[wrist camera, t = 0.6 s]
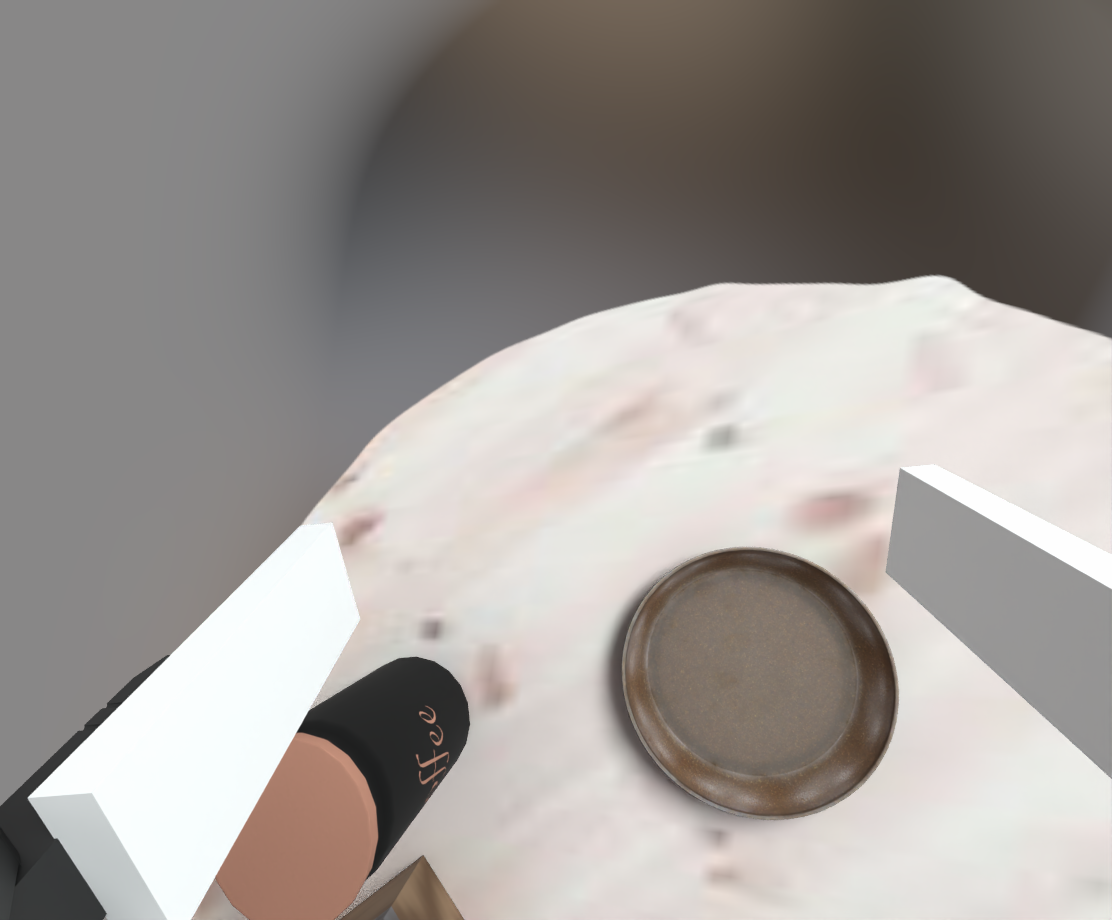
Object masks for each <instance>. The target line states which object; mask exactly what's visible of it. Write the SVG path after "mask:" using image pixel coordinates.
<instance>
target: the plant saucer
mask: <svg viewBox="0 0 1112 920" xmlns="http://www.w3.org/2000/svg"><path fill="white" fill-rule="evenodd" d="M622 684H623V692H624V697H625V702H626V706H627V710H628V713H629V716H630V719H631V721H632V724H633V726H634V728H635V730H636V732H637V734H638V736H639V738H640V740H641V742H642V744H643V745H644V747H645V749H646V750H647V752H648V753H649V754H650V756H651V757H652V758H653V760H654V761H655V762H656V764H657V765H658V766H659V767H660V768H661V769H662V770H663V772H664V773H665V774H666V775H668V776H669V777H670V778H671V779H672V780H673V781H674V782H675V783H676V784H677V785H679V786H680V787H681V788H682V789H684V790H685V791H687V792H688V793H689V794H691V795H693V796H694V797H696V798H697V799H699V800H701V801H702V802H704V803H706V804H709V805H711V806H713V807H715V808H717V809H720V810H722V811H725V812H728V813H731V814H734V815H738V816H742V817H747V818H753V819H763V820H784V819H792V818H798V817H804V816H808V815H811V814H815V813H818V812H820V811H823V810H825V809H827V808H829V807H832V806H834V805H835V804H837V803H839V802H840V801H842V800H844V799H845V798H847V797H849V796H850V795H851V794H852V793H854V792H855V791H856V790H857V789H859V788H860V787H861V786H862V785H863V784H864V783H865V782H866V781H867V780H868V778H869V777H870V776H871V775H872V774H873V772H874V771H875V770H876V768H877V767H878V765H879V764H880V762H881V760H882V758H883V757H884V755H885V753H886V751H887V749H888V747H889V744H890V742H891V739H892V736H893V733H894V729H895V725H896V721H897V714H898V705H899V687H898V677H897V672H896V667H895V663H894V658H893V655H892V652H891V649H890V647H889V644H888V642H887V639H886V637H885V635H884V633H883V631H882V629H881V627H880V626H879V624H878V622H877V620H876V619H875V617H874V616H873V614H872V613H871V612H870V610H869V609H868V608H867V606H866V605H865V604H864V603H863V601H862V600H861V599H860V598H859V597H858V596H857V595H856V594H855V593H854V592H853V591H852V590H851V589H850V588H849V587H848V586H847V585H846V584H844V583H843V582H842V581H841V580H840V579H839V578H837V577H836V576H834V575H833V574H831V573H830V572H828V571H827V570H826V569H824V568H822V567H820V566H819V565H817V564H815V563H813V562H811V561H809V560H807V559H804V558H802V557H799V556H797V555H794V554H790V553H787V552H783V551H779V550H774V549H768V548H761V547H733V548H726V549H720V550H716V551H712V552H708V553H705V554H702V555H700V556H697V557H695V558H693V559H690V560H688V561H687V562H685V563H683V564H681V565H679V566H678V567H676V568H675V569H673V570H672V571H671V572H669V573H668V574H667V575H666V576H664V577H663V578H662V579H661V580H660V581H659V582H658V583H657V584H656V585H655V586H654V587H653V588H652V589H651V590H650V592H649V593H648V594H647V595H646V597H645V598H644V599H643V601H642V602H641V604H640V606H639V607H638V609H637V611H636V613H635V615H634V617H633V619H632V621H631V624H630V626H629V629H628V633H627V636H626V640H625V644H624V649H623V656H622Z"/></svg>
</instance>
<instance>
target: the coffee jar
mask: <svg viewBox="0 0 1112 920" xmlns="http://www.w3.org/2000/svg"><path fill="white" fill-rule="evenodd" d="M469 726H470V721H469V711H468V702H467V700H466V697H465V695H464V693H463V690H462V688H461V685H460V684H459V683H458V682H457V680H456V679H455V678H454V677H453V675H452V674H451V673H450V672H449V671H448V670H446V669H445V668H443V667H442V666H440V665H439V664H437V663H436V662H434V661H430V660H427V659H423V658H419V657H409V658H399V659H397V660H394V661H392V662H390V663H388V664H386V665H384V666H382V667H380V668H379V669H377V670H375V671H374V672H372V673H370V674H369V675H367V676H365V677H364V678H362V679H360V680H359V681H357V682H355V683H354V684H352V685H351V686H349V687H347V688H346V689H344V690H342V691H341V692H339V693H337V694H336V695H334V696H332V697H331V698H329V699H327V700H326V701H324V702H322V703H321V704H319V705H317V706H316V707H314V708H313V709H311V710H309V711H308V713H307V714H306V716H305V718H304V720H303V722H302V723H301V725H300V727H299V729H298V730H297V732H296V734H295V736H294V738H293V739H292V741H291V743H290V745H289V746H288V748H287V750H286V752H285V754H284V755H283V757H282V759H281V761H280V762H279V764H278V766H277V768H276V770H275V771H274V773H273V775H272V777H271V778H270V780H269V782H268V784H267V786H266V787H265V789H264V791H263V793H262V794H261V796H260V798H259V800H258V802H257V803H256V805H255V807H254V809H253V810H252V812H251V814H250V816H249V818H248V819H247V821H246V823H245V825H244V826H243V828H242V830H241V832H240V834H239V835H238V837H237V839H236V841H235V842H234V844H233V846H232V848H231V850H230V851H229V853H228V855H227V857H226V858H225V860H224V862H223V864H222V866H221V867H220V869H219V871H218V873H217V874H216V876H215V878H216V881H217V882H218V884H219V885H220V887H221V889H222V890H223V892H224V893H225V895H226V896H227V898H228V899H229V901H230V903H231V904H232V905H233V906H234V907H235V908H236V909H237V910H238V911H240V912H241V913H242V914H243V915H244V916H246V917H247V918H248V919H249V920H334V919H335V918H337V917H338V916H339V915H340V914H341V913H342V912H343V911H344V910H345V909H346V908H347V907H348V906H349V905H350V904H352V903H353V901H354V899H355V898H356V896H357V894H358V893H359V891H360V889H361V887H362V885H363V883H364V882H365V881H366V880H367V879H368V878H369V877H370V876H371V875H372V874H373V873H374V872H375V871H376V870H377V869H378V868H379V866H380V865H381V864H382V862H383V861H384V859H385V858H386V857H387V855H388V854H389V853H390V851H391V850H392V848H393V847H394V846H395V844H396V843H397V842H398V840H399V839H400V838H401V836H402V835H403V833H404V832H405V831H406V829H407V828H408V827H409V825H410V824H411V822H412V821H413V820H414V818H415V817H416V816H417V814H418V813H419V812H420V810H421V809H422V807H423V806H424V805H425V803H426V802H427V801H428V799H429V798H430V797H431V795H432V794H433V792H434V791H435V790H436V788H437V787H438V786H439V784H440V783H441V781H442V780H443V779H444V777H445V776H446V775H447V773H448V772H449V771H450V769H451V768H452V766H453V765H454V764H455V762H456V761H457V759H458V758H459V756H460V754H461V752H462V750H463V748H464V746H465V745H466V741H467V736H468V731H469Z"/></svg>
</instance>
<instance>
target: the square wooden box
mask: <svg viewBox="0 0 1112 920" xmlns="http://www.w3.org/2000/svg"><path fill="white" fill-rule="evenodd" d="M340 920H464V919H463V917H462V916H461V914H460V913H459V911H458V909H457V908H456V906H455V905H454V903H453V901H452V900H451V898H450V897H449V895H448V894H447V892H446V890H445V889H444V887H443V886H442V884H441V882H440V881H439V879H438V878H437V876H436V874H435V873H434V871H433V870H432V868H431V867H430V865H429V863H428V862H427V860H426V859H425V857H424V855H423V856H422V857H420V858H419V859H418V860H417V861H415V862H414V863H413V864H411V865H410V866H409V867H407V868H406V869H405V870H404V871H402V872H401V873H400V874H398V875H397V876H396V877H395V878H393V879H392V880H391V881H389V882H388V883H387V884H386V885H384V886H383V887H382V888H380V889H379V890H378V891H376V892H375V893H374V894H373V895H371V896H370V897H369V898H367V899H366V900H365V901H364V902H362V903H361V904H360V905H358V906H357V907H356V908H355V909H353V910H352V911H351V912H349V913H348V914H347V915H345V916H344V917H343V918H342V919H340Z"/></svg>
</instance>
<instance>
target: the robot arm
mask: <svg viewBox="0 0 1112 920" xmlns="http://www.w3.org/2000/svg"><path fill="white" fill-rule="evenodd" d="M886 573H887V574H888V575H889V576H890V577H891V578H893V579H894V580H895V581H896V582H897V583H898V584H899V585H900V586H901V587H902V588H903V589H905V590H906V591H907V592H908V593H909V594H910V595H911V596H912V597H913V598H914V599H916V600H917V601H918V602H919V603H920V604H921V605H922V606H923V607H924V608H925V609H926V610H928V611H929V612H930V613H931V614H932V615H933V616H934V617H935V618H936V619H937V620H938V621H940V622H941V623H942V624H943V625H944V626H945V627H946V628H947V629H948V630H949V631H951V632H952V633H953V634H954V635H955V636H956V637H957V638H958V639H959V640H960V641H961V642H963V643H964V644H965V645H966V646H967V647H968V648H969V649H970V650H971V651H972V652H973V653H975V654H976V655H977V656H978V657H979V658H980V659H981V660H982V661H983V662H984V663H986V664H987V665H988V666H989V667H990V668H991V669H992V670H993V671H994V672H995V673H996V674H998V675H999V676H1000V677H1001V678H1002V679H1003V680H1004V681H1005V682H1006V683H1007V684H1009V685H1010V686H1011V687H1012V688H1013V689H1014V690H1015V691H1016V692H1017V693H1018V694H1019V695H1021V696H1022V697H1023V698H1024V699H1025V700H1026V701H1027V702H1028V703H1029V704H1030V705H1031V706H1033V707H1034V708H1035V709H1036V710H1037V711H1038V712H1039V713H1040V714H1041V715H1042V716H1044V717H1045V718H1046V719H1047V720H1048V721H1049V722H1050V723H1051V724H1052V725H1053V726H1054V727H1056V728H1057V729H1058V730H1059V731H1060V732H1061V733H1062V734H1063V735H1064V736H1065V737H1066V738H1068V739H1069V740H1070V741H1071V742H1072V743H1073V744H1074V745H1075V746H1076V747H1077V748H1079V749H1080V750H1081V751H1082V752H1083V753H1084V754H1085V755H1086V756H1087V757H1088V758H1089V759H1091V760H1092V761H1093V762H1094V763H1095V764H1096V765H1097V766H1098V767H1099V768H1100V769H1101V770H1103V771H1104V772H1105V773H1106V774H1107V775H1108V776H1109V777H1110V778H1111V779H1112V555H1111V554H1109V553H1107V552H1105V551H1103V550H1101V549H1099V548H1097V547H1095V546H1093V545H1091V544H1089V543H1087V542H1085V541H1083V540H1081V539H1079V538H1077V537H1075V536H1074V535H1072V534H1070V533H1068V532H1066V531H1064V530H1062V529H1060V528H1058V527H1056V526H1054V525H1052V524H1050V523H1048V522H1046V521H1044V520H1042V519H1040V518H1038V517H1036V516H1034V515H1032V514H1031V513H1029V512H1027V511H1025V510H1023V509H1021V508H1019V507H1017V506H1015V505H1013V504H1011V503H1009V502H1007V501H1005V500H1003V499H1001V498H999V497H997V496H995V495H993V494H991V493H989V492H987V491H986V490H984V489H982V488H980V487H978V486H976V485H974V484H972V483H970V482H968V481H966V480H964V479H962V478H960V477H958V476H956V475H954V474H952V473H950V472H948V471H946V470H944V469H943V468H941V467H939V466H937V465H935V464H934V465H924V466H914V467H903V468H900V472H899V479H898V486H897V493H896V501H895V508H894V515H893V522H892V530H891V537H890V544H889V551H888V559H887V566H886ZM359 620H360V617H359V613H358V610H357V606H356V603H355V599H354V596H353V592H352V589H351V585H350V582H349V578H348V575H347V572H346V568H345V565H344V561H343V558H342V554H341V551H340V547H339V544H338V540H337V537H336V533H335V530H334V527H333V523H322V524H312V525H302V526H300V527H299V528H298V529H297V530H296V531H295V532H294V533H293V534H292V535H291V536H290V537H289V538H288V539H287V540H286V541H285V542H284V543H283V544H282V545H281V546H280V547H279V548H278V549H277V550H276V551H275V552H274V553H273V554H272V555H271V556H270V557H269V558H268V559H267V560H266V561H265V562H264V563H263V564H262V565H261V566H260V567H259V568H258V569H257V570H256V571H255V572H254V573H253V574H252V575H251V576H250V577H249V578H248V579H247V580H246V581H245V582H244V583H243V584H242V585H241V586H240V587H239V588H238V589H237V590H236V591H235V592H234V593H233V594H232V595H231V596H230V597H229V598H228V599H227V600H226V601H225V602H224V603H223V604H221V605H220V607H218V609H216V611H214V613H212V614H211V615H210V616H209V618H207V620H206V621H205V622H203V624H201V626H199V627H198V629H197V630H195V631H194V632H193V633H192V634H191V635H190V636H189V638H187V640H185V641H184V642H183V643H182V644H181V645H180V647H178V648H177V649H176V650H175V651H174V652H173V653H172V654H171V655H167V656H165V657H164V658H162V659H161V660H159V661H158V662H156V663H155V664H153V665H152V666H151V667H149V668H148V669H146V670H145V671H143V672H142V673H140V674H139V675H137V676H136V677H134V678H133V679H132V680H131V681H130V682H129V683H128V684H127V685H126V686H125V687H124V688H123V689H122V690H120V691H119V692H118V693H117V694H116V696H114V697H113V698H112V699H111V700H110V701H109V702H108V703H107V707H106V708H103V709H101V710H100V711H99V712H98V713H97V714H96V715H95V716H94V717H93V718H92V719H90V720H89V721H88V722H87V723H86V724H85V728H84V730H83V731H78V732H77V733H76V734H75V735H74V736H73V737H72V738H71V739H70V740H69V741H68V742H67V743H66V744H64V745H63V746H62V747H61V748H60V749H59V750H58V751H57V752H56V753H55V754H54V755H53V756H52V757H51V758H50V759H49V760H48V761H47V762H46V763H45V764H44V765H43V766H42V767H41V768H40V769H38V770H37V772H35V773H34V774H33V775H32V776H31V777H30V778H29V779H28V780H27V781H26V782H25V783H24V784H23V785H22V786H21V787H20V788H19V789H18V790H17V791H16V792H15V793H14V794H13V795H12V796H10V797H9V798H8V799H7V800H6V801H5V802H4V803H3V804H2V805H1V806H0V920H103V919H104V917H105V916H106V918H107V919H108V920H191V919H192V917H193V915H194V914H195V912H196V910H197V908H198V906H199V905H200V903H201V901H202V899H203V898H204V896H205V894H206V892H207V890H208V889H209V887H210V885H211V883H212V882H213V880H214V878H215V876H216V874H217V873H218V871H219V869H220V867H221V866H222V864H223V862H224V860H225V858H226V857H227V855H228V853H229V851H230V850H231V848H232V846H233V844H234V842H235V841H236V839H237V837H238V835H239V834H240V832H241V830H242V828H243V826H244V825H245V823H246V821H247V819H248V818H249V816H250V814H251V812H252V810H253V809H254V807H255V805H256V803H257V802H258V800H259V798H260V796H261V794H262V793H263V791H264V789H265V787H266V786H267V784H268V782H269V780H270V778H271V777H272V775H273V773H274V771H275V770H276V768H277V766H278V764H279V762H280V761H281V759H282V757H283V755H284V754H285V752H286V750H287V748H288V746H289V745H290V743H291V741H292V739H293V738H294V736H295V734H296V732H297V730H298V729H299V727H300V725H301V723H302V722H303V720H304V718H305V716H306V714H307V713H308V711H309V709H310V707H311V706H312V704H313V702H314V700H315V698H316V697H317V695H318V693H319V691H320V690H321V688H322V686H323V684H324V682H325V681H326V679H327V677H328V675H329V674H330V672H331V670H332V668H333V666H334V665H335V663H336V661H337V659H338V658H339V656H340V654H341V652H342V650H343V649H344V647H345V645H346V643H347V642H348V640H349V638H350V636H351V634H352V633H353V631H354V629H355V627H356V626H357V624H358V622H359Z"/></svg>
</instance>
